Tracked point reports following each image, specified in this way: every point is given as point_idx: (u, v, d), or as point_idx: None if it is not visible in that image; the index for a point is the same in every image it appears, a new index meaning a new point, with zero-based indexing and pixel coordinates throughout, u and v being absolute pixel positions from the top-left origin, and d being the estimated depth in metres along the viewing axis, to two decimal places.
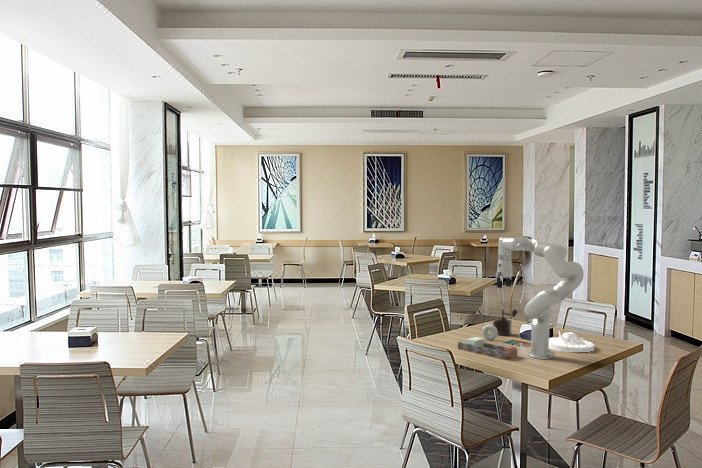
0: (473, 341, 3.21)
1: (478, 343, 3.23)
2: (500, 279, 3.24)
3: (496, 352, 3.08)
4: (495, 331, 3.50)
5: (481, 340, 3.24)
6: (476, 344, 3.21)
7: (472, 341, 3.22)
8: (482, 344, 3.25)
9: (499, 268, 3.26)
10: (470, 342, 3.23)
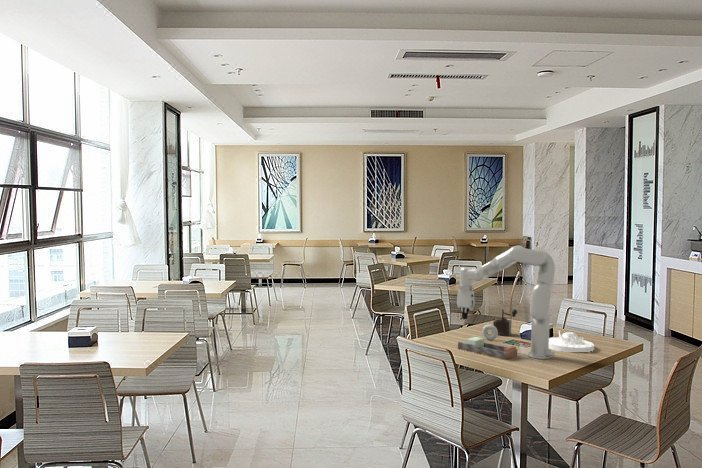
0: (473, 341, 3.21)
1: (478, 343, 3.23)
2: (468, 311, 3.30)
3: (496, 352, 3.08)
4: (495, 331, 3.50)
5: (481, 340, 3.24)
6: (476, 344, 3.21)
7: (472, 341, 3.22)
8: (482, 344, 3.25)
9: (472, 299, 3.26)
10: (470, 342, 3.23)
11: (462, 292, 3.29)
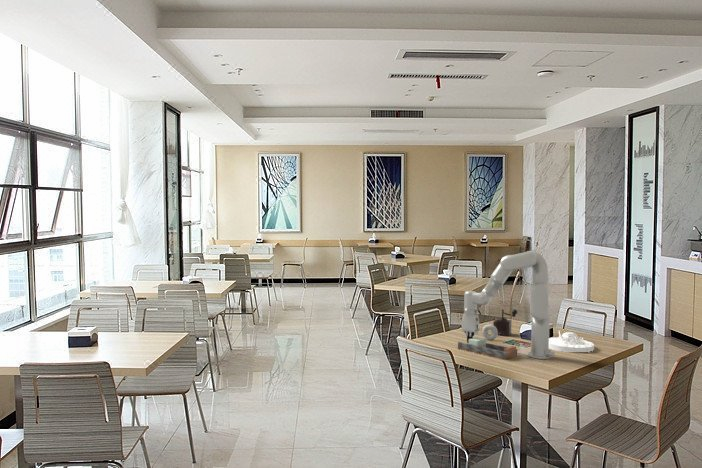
0: (475, 341, 3.20)
1: (480, 344, 3.22)
2: (473, 335, 3.28)
3: (496, 352, 3.08)
4: (495, 331, 3.50)
5: (483, 340, 3.24)
6: (478, 344, 3.20)
7: (474, 341, 3.21)
8: (484, 344, 3.24)
9: (476, 323, 3.24)
10: (472, 342, 3.22)
11: (466, 316, 3.27)
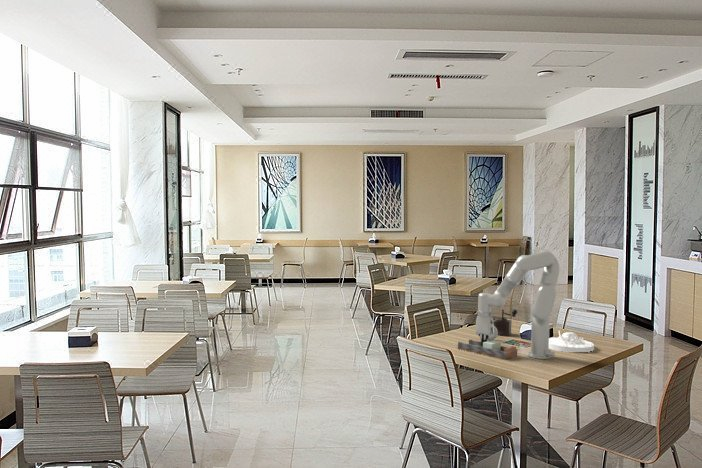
0: (490, 345, 3.13)
1: (495, 347, 3.14)
2: None
3: (496, 352, 3.08)
4: (495, 331, 3.50)
5: (498, 343, 3.16)
6: (493, 348, 3.13)
7: (489, 345, 3.14)
8: (499, 348, 3.17)
9: (491, 326, 3.17)
10: (486, 346, 3.15)
11: (480, 319, 3.20)
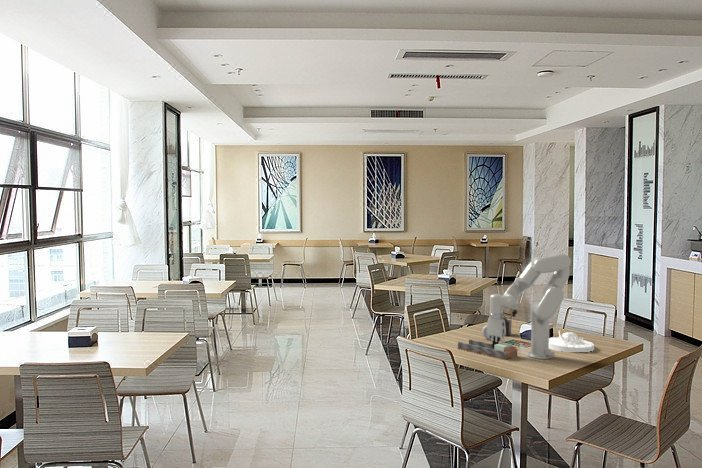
0: (501, 347, 3.07)
1: None
2: (499, 340, 3.15)
3: (496, 352, 3.08)
4: None
5: (509, 346, 3.11)
6: None
7: (500, 347, 3.08)
8: None
9: (503, 328, 3.11)
10: (498, 348, 3.09)
11: (492, 320, 3.14)
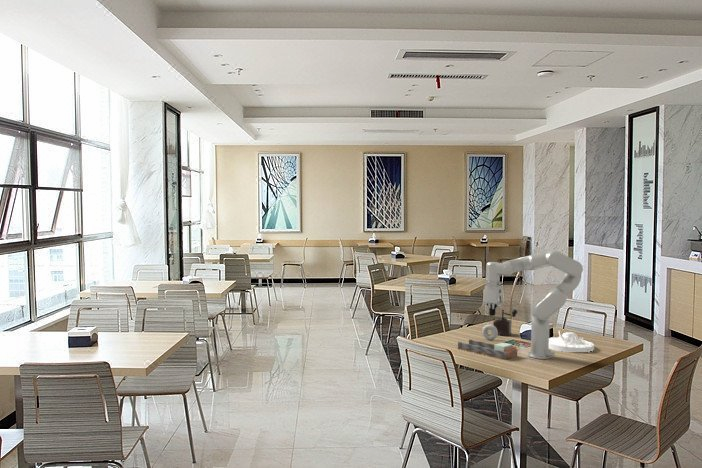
0: (501, 347, 3.08)
1: None
2: (496, 307, 3.18)
3: (496, 352, 3.08)
4: (495, 331, 3.50)
5: (509, 346, 3.11)
6: None
7: (500, 347, 3.08)
8: None
9: (499, 295, 3.14)
10: (498, 348, 3.09)
11: (489, 288, 3.17)
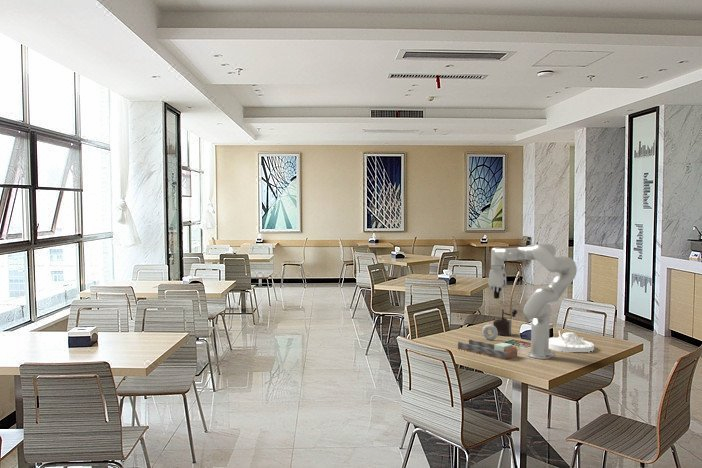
0: (501, 347, 3.08)
1: None
2: None
3: (496, 352, 3.08)
4: (495, 331, 3.50)
5: (509, 346, 3.11)
6: None
7: (500, 347, 3.08)
8: None
9: (503, 278, 3.31)
10: (498, 348, 3.09)
11: (493, 272, 3.34)
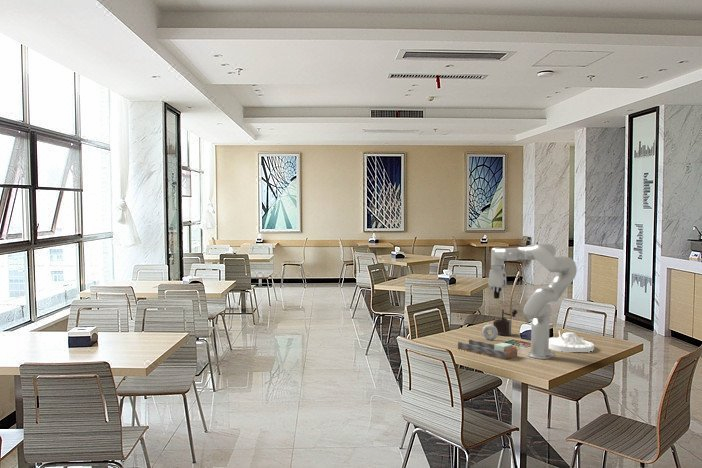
0: (501, 347, 3.08)
1: None
2: None
3: (496, 352, 3.08)
4: (495, 331, 3.50)
5: (509, 346, 3.11)
6: None
7: (500, 347, 3.08)
8: None
9: (503, 278, 3.31)
10: (498, 348, 3.09)
11: (493, 272, 3.34)
